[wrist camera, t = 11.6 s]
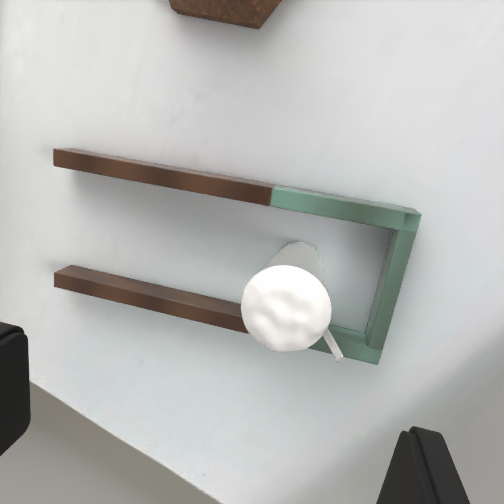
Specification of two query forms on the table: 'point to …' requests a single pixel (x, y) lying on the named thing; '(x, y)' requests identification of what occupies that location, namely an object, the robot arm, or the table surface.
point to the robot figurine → (228, 10)
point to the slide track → (259, 193)
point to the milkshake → (289, 301)
